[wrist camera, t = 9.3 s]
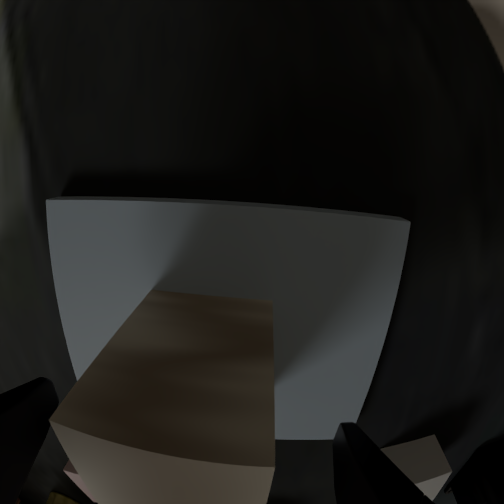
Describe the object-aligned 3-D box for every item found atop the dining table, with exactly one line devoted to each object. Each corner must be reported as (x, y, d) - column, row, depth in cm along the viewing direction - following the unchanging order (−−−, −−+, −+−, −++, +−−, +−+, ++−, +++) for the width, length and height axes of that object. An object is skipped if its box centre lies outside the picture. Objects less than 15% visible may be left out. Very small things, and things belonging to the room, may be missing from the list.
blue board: (400, 216, 11) (410, 222, 10) (346, 425, 14) (349, 438, 13) (59, 196, 11) (46, 200, 10) (93, 396, 15) (85, 406, 14)
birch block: (272, 300, 11) (274, 467, 4) (262, 393, 12) (256, 540, 6) (151, 289, 11) (48, 419, 5) (160, 381, 13) (104, 511, 6)
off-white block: (433, 433, 15) (452, 471, 11) (419, 465, 16) (432, 500, 12) (377, 447, 15) (390, 491, 12) (368, 478, 16) (377, 516, 13)
